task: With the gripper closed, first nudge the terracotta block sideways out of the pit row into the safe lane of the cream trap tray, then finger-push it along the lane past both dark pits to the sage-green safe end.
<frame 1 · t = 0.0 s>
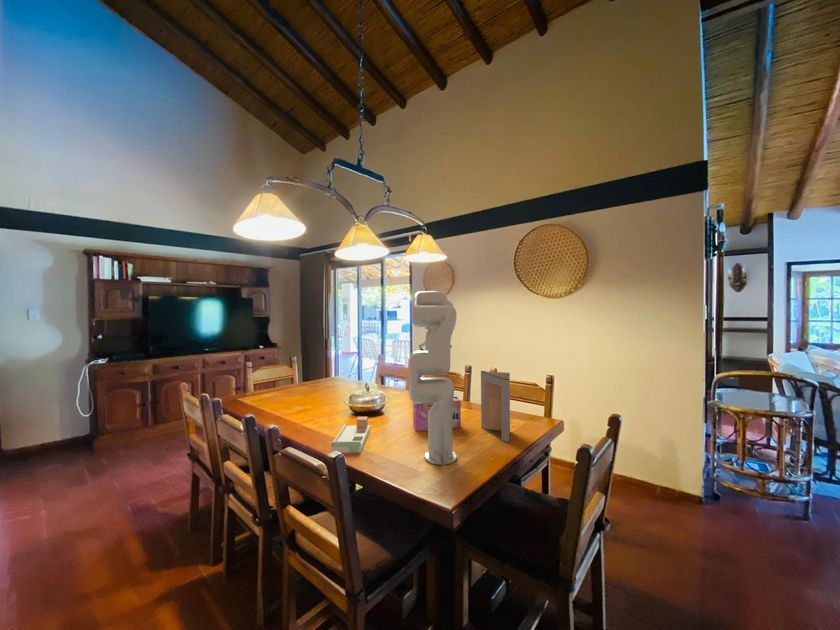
hand: (435, 361, 181), 31 cm above the table, fingers open, 9 cm apart
cabinet: (502, 434, 162), on the table
gum box: (436, 427, 172), on the table
trap tray: (352, 440, 156), on the table
block: (362, 427, 166), point 2 cm above the table, touching trap tray
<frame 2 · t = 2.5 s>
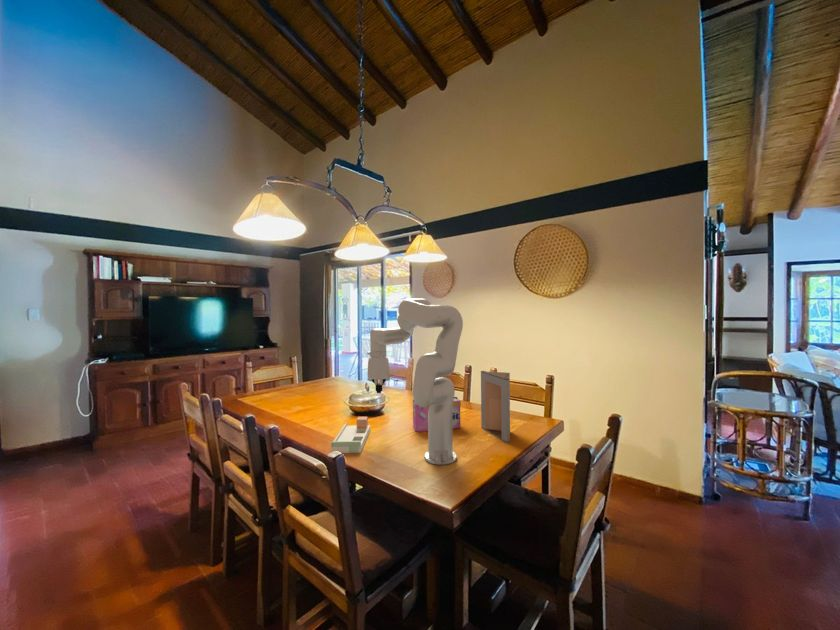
hand: (379, 392, 165), 19 cm above the table, fingers closed
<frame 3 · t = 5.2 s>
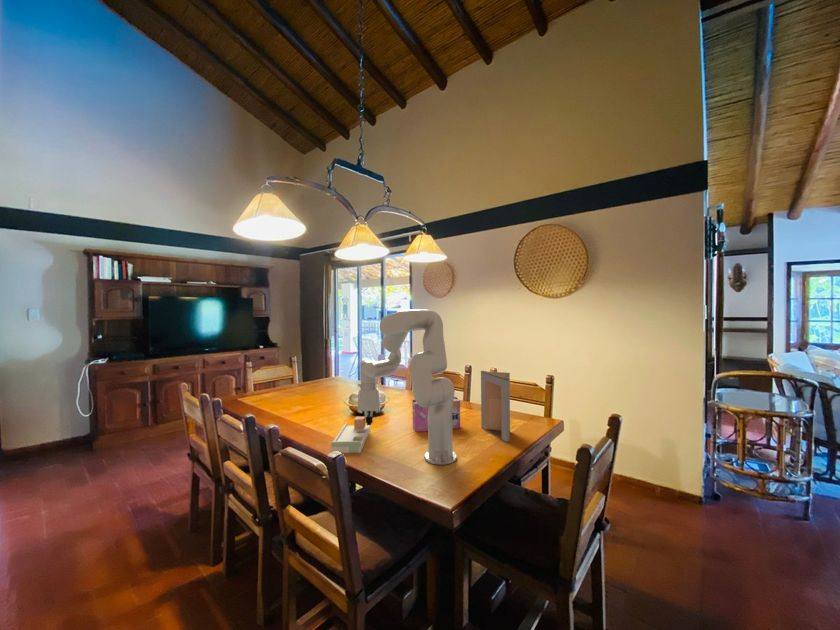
hand: (369, 424, 166), 4 cm above the table, fingers closed
block: (359, 427, 166), point 3 cm above the table, touching gripper
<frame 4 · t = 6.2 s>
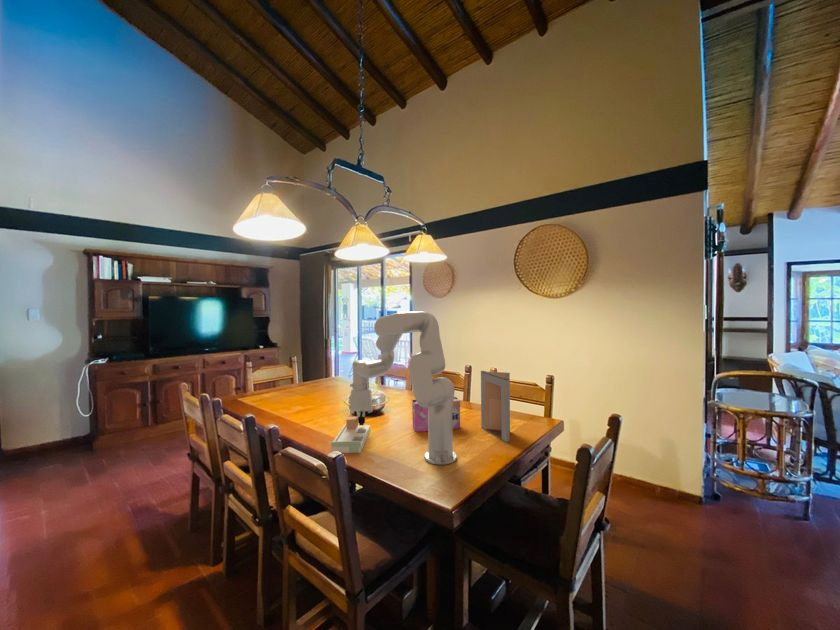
hand: (361, 424, 166), 4 cm above the table, fingers closed
block: (352, 427, 166), point 2 cm above the table, touching gripper, trap tray
everything else where it was.
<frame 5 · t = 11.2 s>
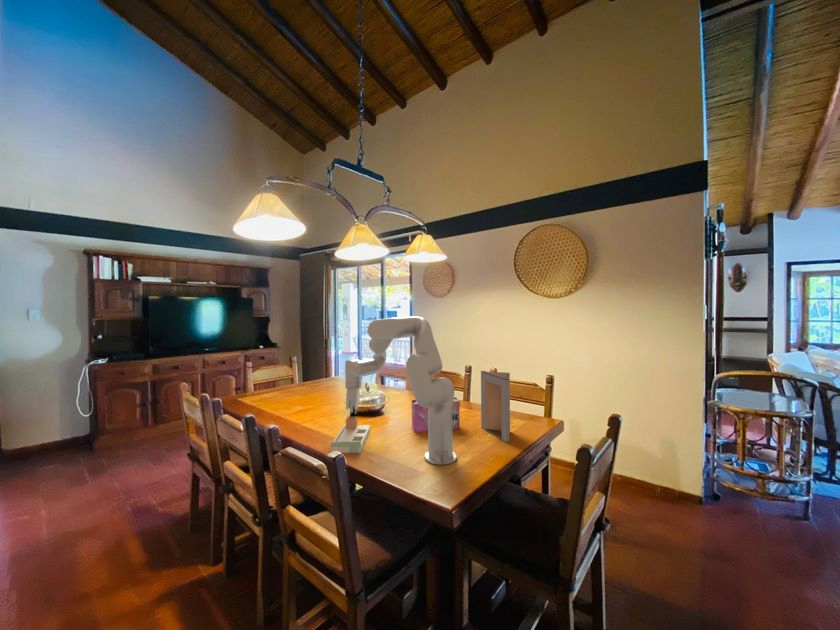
hand: (353, 421, 170), 4 cm above the table, fingers closed
block: (351, 427, 165), point 3 cm above the table, touching gripper
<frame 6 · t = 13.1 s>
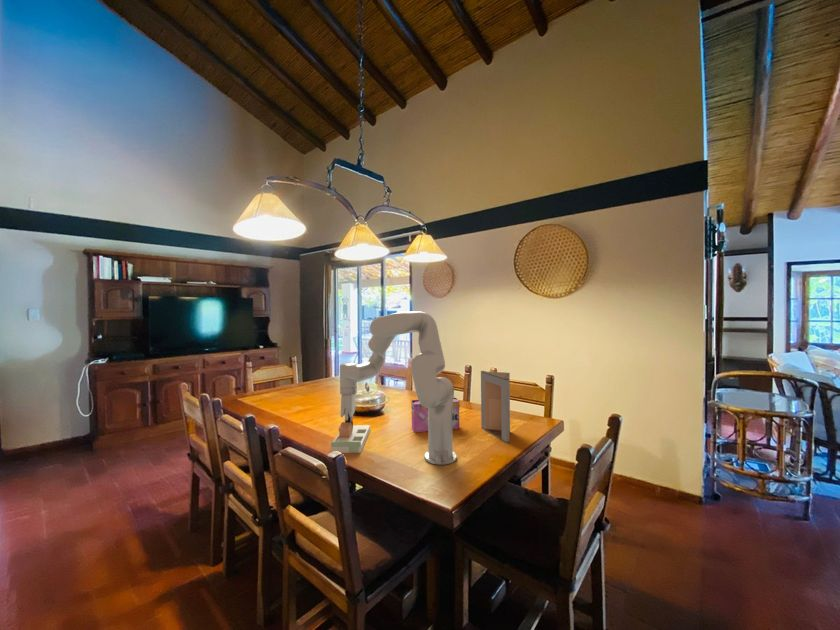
hand: (349, 430, 159), 4 cm above the table, fingers closed
block: (346, 433, 155), point 3 cm above the table, tilted 19°, touching gripper
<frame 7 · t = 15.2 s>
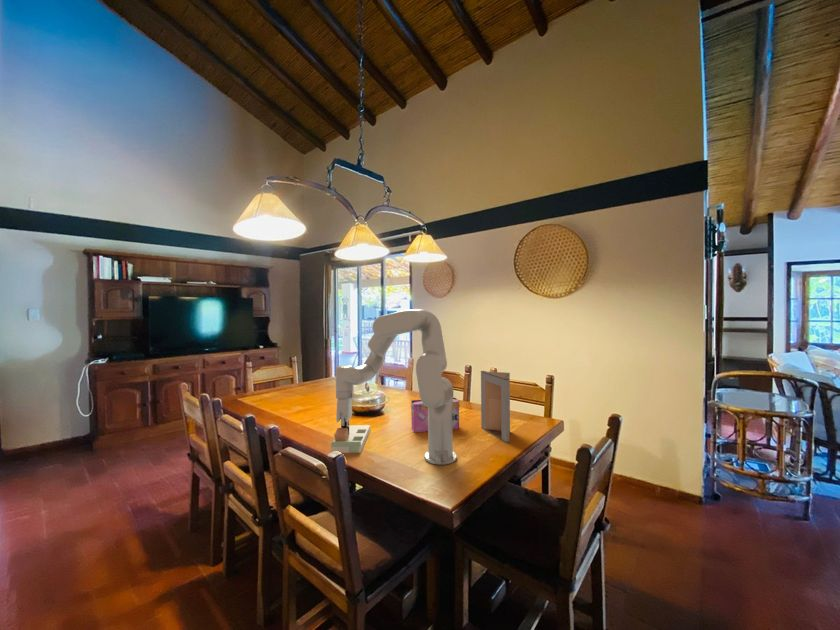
hand: (345, 435, 151), 4 cm above the table, fingers closed
block: (342, 440, 148), point 3 cm above the table, tilted 20°, touching gripper, trap tray
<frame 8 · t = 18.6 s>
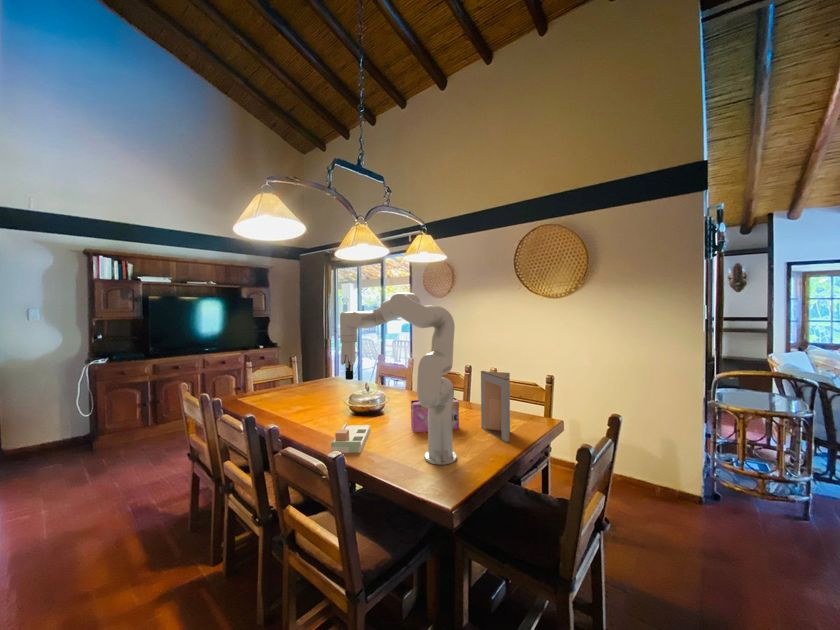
hand: (349, 379, 158), 27 cm above the table, fingers closed
block: (342, 441, 148), point 2 cm above the table, touching trap tray
at the end: block inside the target area on the trap tray (1.1 cm from its centre), point 2.5 cm above the trap tray's base; block tilted 0° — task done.
